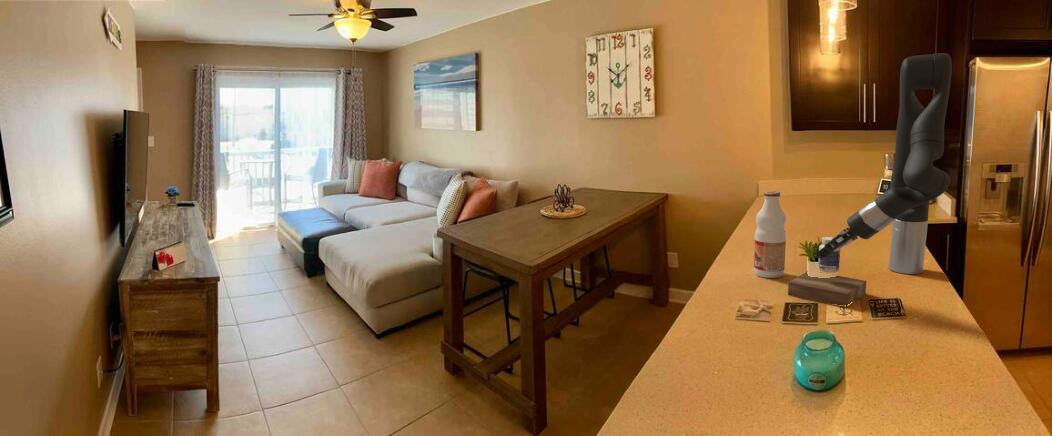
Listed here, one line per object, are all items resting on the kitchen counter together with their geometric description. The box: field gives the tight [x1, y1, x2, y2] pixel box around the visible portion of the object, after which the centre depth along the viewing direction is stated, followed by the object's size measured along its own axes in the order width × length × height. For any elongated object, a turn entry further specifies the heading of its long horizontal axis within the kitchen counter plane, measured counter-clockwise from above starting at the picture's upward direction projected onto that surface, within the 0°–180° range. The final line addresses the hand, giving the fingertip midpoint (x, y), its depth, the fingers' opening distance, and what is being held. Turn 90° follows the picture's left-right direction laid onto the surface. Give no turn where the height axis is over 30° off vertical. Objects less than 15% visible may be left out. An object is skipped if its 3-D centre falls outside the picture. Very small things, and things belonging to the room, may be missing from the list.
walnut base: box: [787, 271, 867, 306], centre depth 159 cm, size 15×16×4 cm
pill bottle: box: [817, 236, 841, 274], centre depth 157 cm, size 5×5×10 cm
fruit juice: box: [753, 190, 787, 279], centre depth 177 cm, size 9×9×28 cm
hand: (822, 254), depth 158 cm, fingers closed on pill bottle, 5 cm apart
